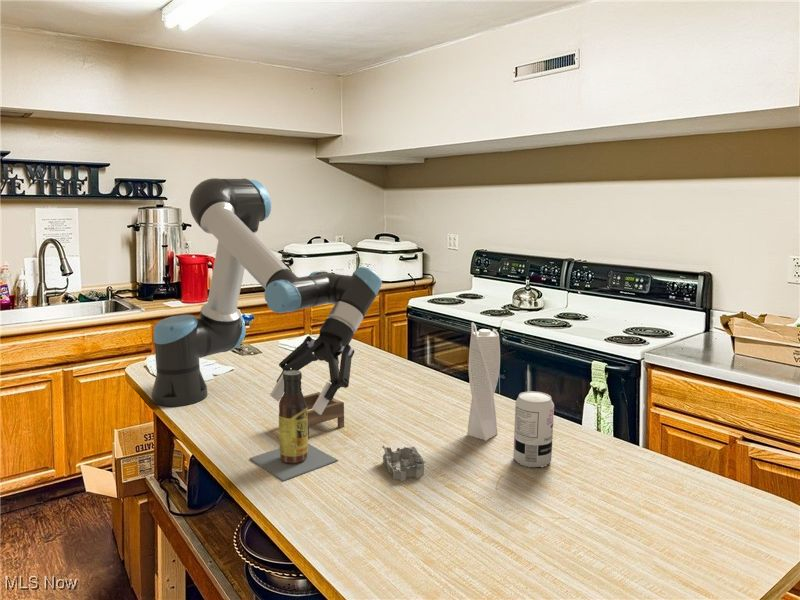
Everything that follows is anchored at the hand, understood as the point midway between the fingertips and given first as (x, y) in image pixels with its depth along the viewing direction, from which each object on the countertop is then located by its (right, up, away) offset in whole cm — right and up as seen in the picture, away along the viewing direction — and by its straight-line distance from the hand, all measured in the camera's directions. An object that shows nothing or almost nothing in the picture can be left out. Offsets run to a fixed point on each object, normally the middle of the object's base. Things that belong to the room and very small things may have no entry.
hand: (294, 404), depth 130 cm
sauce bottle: (0, -13, +2) cm, 13 cm away
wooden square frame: (+1, -9, +21) cm, 23 cm away
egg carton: (+24, -14, -2) cm, 28 cm away
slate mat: (-1, -13, +2) cm, 13 cm away
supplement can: (+53, -13, +2) cm, 54 cm away
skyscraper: (+43, -10, +16) cm, 47 cm away
